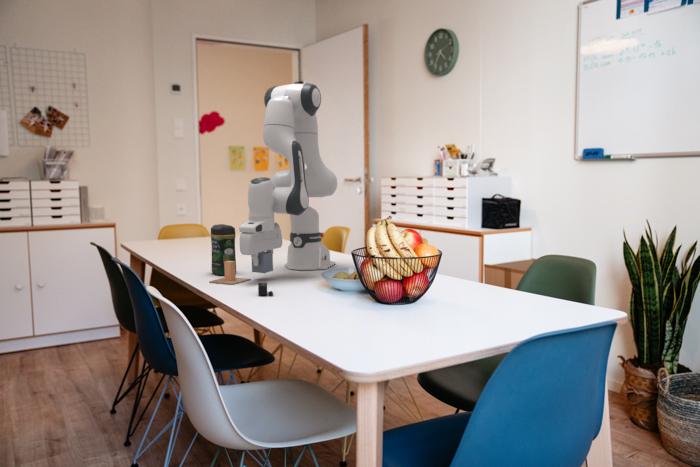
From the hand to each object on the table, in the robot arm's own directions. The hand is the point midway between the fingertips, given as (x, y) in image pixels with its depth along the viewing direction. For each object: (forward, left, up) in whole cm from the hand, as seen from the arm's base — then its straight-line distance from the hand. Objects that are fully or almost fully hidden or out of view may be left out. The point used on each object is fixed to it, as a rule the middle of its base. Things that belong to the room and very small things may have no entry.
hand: (262, 263), depth 201 cm
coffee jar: (-4, -20, -6) cm, 21 cm away
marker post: (+8, -8, -6) cm, 13 cm away
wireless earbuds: (+21, +15, -6) cm, 26 cm away
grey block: (0, 0, -3) cm, 3 cm away
